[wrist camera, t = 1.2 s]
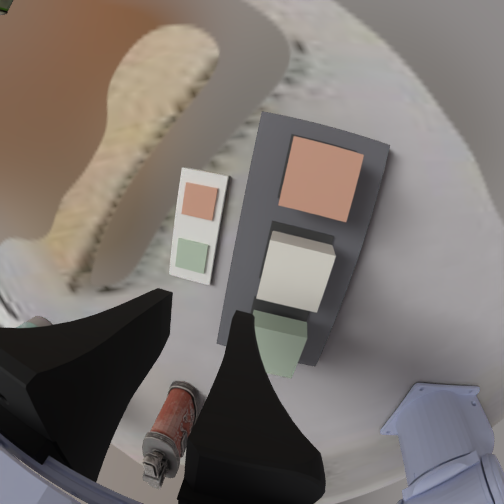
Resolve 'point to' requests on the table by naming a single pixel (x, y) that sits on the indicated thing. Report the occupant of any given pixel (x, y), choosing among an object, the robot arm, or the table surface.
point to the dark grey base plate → (298, 225)
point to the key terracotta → (320, 179)
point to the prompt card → (197, 224)
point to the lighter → (170, 434)
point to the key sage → (279, 342)
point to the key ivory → (296, 271)
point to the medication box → (5, 6)
